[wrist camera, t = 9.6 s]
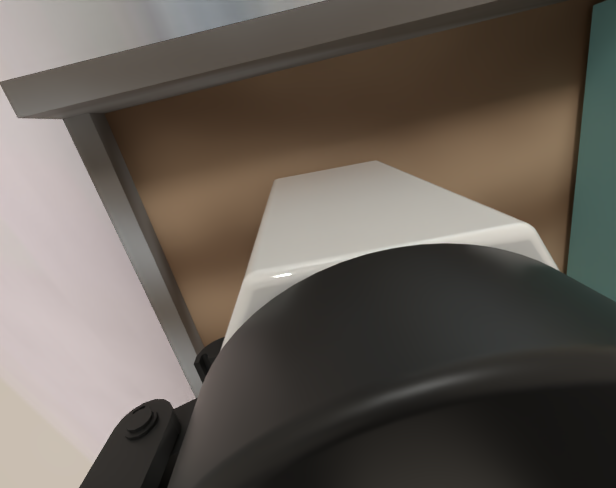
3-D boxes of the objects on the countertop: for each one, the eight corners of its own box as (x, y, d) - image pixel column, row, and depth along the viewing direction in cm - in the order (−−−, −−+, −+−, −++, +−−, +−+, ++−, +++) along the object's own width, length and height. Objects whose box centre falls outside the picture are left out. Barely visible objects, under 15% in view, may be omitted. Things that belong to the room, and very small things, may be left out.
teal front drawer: (83, 94, 13) (-203, 52, 5) (669, -51, 12) (1273, -327, 5) (221, 406, 19) (178, 583, 12) (607, 324, 19) (819, 458, 11)
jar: (265, 336, 16) (212, 787, 5) (223, 185, 13) (-103, 480, 2) (432, 306, 16) (743, 703, 5) (427, 146, 13) (1133, 262, 2)
